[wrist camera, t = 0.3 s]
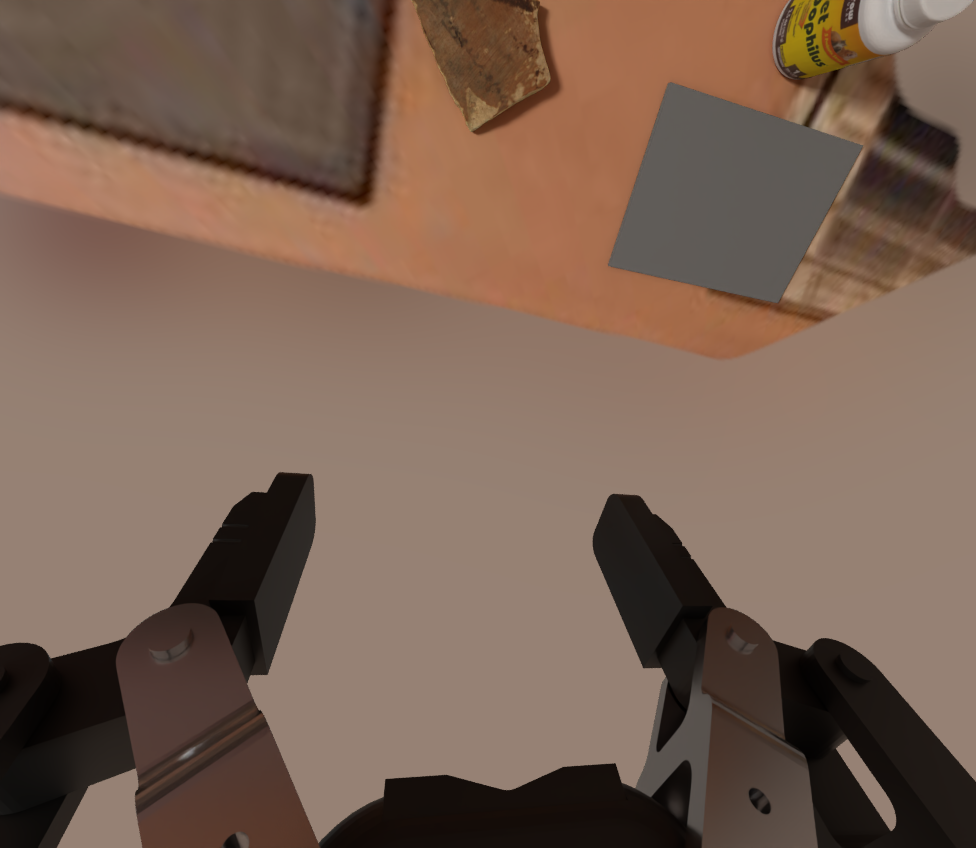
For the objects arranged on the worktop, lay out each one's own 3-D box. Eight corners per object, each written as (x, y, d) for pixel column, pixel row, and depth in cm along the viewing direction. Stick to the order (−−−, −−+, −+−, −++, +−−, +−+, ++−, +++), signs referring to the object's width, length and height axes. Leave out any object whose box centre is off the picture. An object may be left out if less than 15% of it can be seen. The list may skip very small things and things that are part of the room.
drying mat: (668, 83, 30) (670, 82, 30) (858, 146, 34) (863, 145, 33) (607, 265, 36) (609, 266, 36) (774, 302, 40) (777, 303, 39)
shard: (384, -52, 25) (381, -67, 24) (492, -129, 24) (496, -151, 23) (466, 137, 31) (468, 134, 29) (558, 80, 30) (564, 74, 28)
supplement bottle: (764, 5, 29) (910, -76, 20) (843, -39, 28) (1032, -144, 19) (770, 97, 31) (901, 62, 23) (842, 59, 31) (1007, 7, 22)
